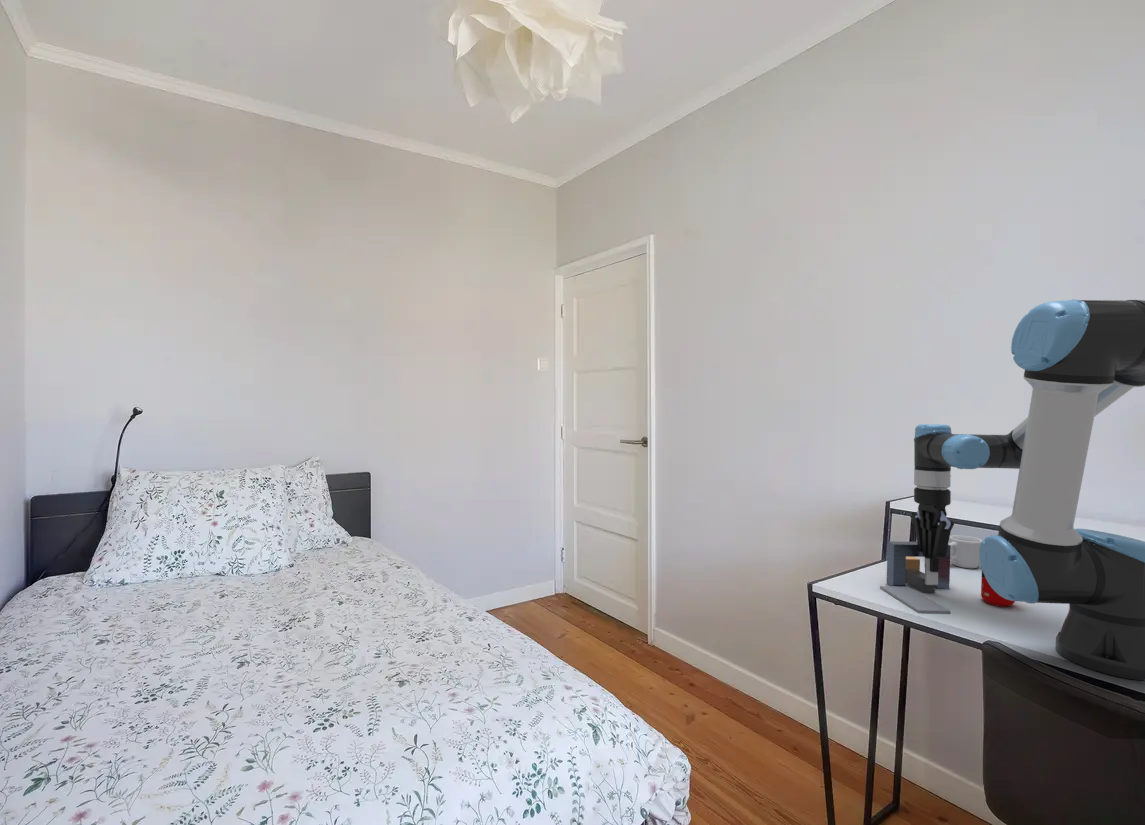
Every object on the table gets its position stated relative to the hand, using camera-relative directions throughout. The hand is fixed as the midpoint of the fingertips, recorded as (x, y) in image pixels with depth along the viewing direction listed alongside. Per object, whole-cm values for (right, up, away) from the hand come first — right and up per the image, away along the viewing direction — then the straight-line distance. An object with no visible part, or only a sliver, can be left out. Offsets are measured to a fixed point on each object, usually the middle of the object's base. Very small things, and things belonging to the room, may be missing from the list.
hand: (931, 584), depth 137 cm
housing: (0, -2, +5) cm, 6 cm away
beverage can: (+12, -3, -6) cm, 13 cm away
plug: (0, -2, +7) cm, 8 cm away
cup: (+23, -2, +23) cm, 33 cm away
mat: (-7, -2, -5) cm, 9 cm away
